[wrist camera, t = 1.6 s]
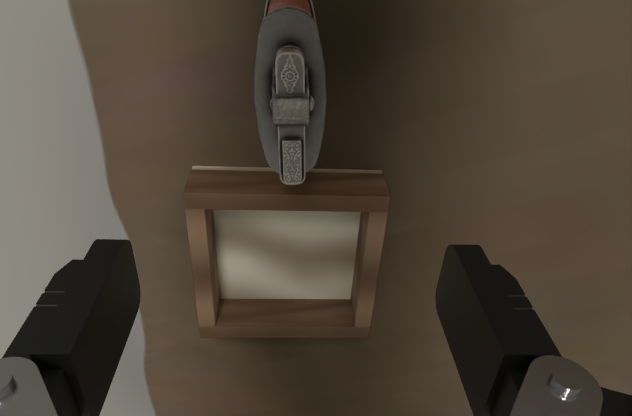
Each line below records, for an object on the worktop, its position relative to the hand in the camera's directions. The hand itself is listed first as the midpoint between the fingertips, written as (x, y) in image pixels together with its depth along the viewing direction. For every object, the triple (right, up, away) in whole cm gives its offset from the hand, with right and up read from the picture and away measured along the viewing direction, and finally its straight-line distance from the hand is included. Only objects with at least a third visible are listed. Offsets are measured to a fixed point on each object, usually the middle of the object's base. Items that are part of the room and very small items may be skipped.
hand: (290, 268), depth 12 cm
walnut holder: (-2, -1, +24) cm, 24 cm away
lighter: (-1, +11, +17) cm, 20 cm away
